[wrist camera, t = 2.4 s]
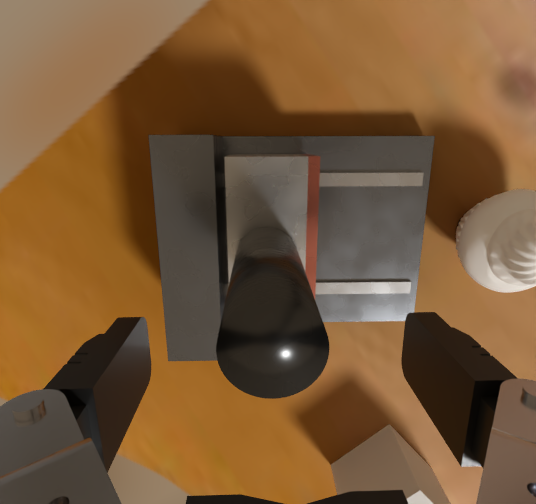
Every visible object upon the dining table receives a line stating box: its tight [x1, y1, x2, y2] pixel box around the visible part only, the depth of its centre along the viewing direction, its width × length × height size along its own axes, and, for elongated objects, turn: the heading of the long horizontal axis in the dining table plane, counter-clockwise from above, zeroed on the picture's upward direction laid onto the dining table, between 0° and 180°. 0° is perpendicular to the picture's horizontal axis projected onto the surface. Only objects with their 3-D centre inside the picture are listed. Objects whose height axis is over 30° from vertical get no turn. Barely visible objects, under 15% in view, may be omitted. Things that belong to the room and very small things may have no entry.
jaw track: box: [149, 135, 435, 361], centre depth 22 cm, size 12×16×6 cm
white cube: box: [331, 424, 450, 504], centre depth 28 cm, size 6×6×6 cm
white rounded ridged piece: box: [456, 189, 536, 292], centre depth 22 cm, size 6×6×7 cm
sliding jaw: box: [216, 154, 329, 398], centre depth 17 cm, size 10×5×13 cm, turn 0°
